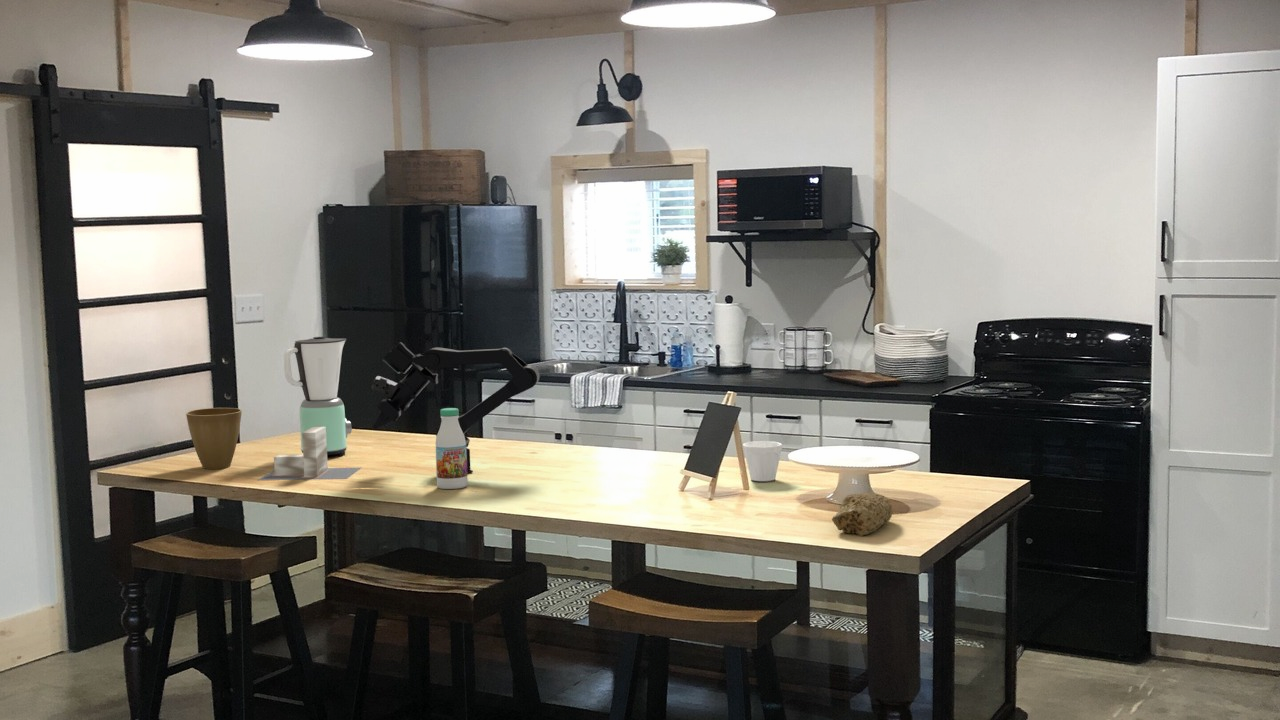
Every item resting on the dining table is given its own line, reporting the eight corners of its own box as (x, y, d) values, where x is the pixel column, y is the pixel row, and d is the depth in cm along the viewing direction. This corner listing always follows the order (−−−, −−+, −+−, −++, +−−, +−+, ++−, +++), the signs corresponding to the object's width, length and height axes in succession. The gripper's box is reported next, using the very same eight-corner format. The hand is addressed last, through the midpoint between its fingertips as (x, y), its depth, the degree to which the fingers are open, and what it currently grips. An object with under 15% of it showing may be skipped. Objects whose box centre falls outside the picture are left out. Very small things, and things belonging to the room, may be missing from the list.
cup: (785, 477, 323) (785, 441, 322) (779, 484, 313) (778, 447, 313) (747, 475, 326) (746, 440, 325) (739, 483, 316) (739, 446, 315)
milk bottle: (431, 487, 321) (428, 409, 319) (456, 482, 326) (453, 405, 324) (447, 491, 315) (444, 411, 313) (473, 486, 320) (470, 408, 318)
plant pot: (180, 472, 351) (177, 415, 349) (202, 462, 366) (199, 407, 364) (232, 471, 350) (229, 414, 348) (252, 461, 365) (249, 407, 363)
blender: (341, 449, 384) (336, 334, 380) (360, 454, 373) (355, 336, 370) (281, 456, 372) (275, 338, 369) (298, 462, 362) (292, 340, 358)
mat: (362, 468, 349) (362, 467, 349) (346, 480, 333) (346, 478, 333) (276, 470, 350) (276, 469, 350) (256, 481, 334) (256, 480, 334)
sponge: (878, 544, 256) (912, 506, 273) (868, 509, 255) (902, 472, 271) (821, 549, 264) (857, 511, 280) (811, 514, 263) (847, 478, 279)
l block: (327, 470, 346) (325, 426, 345) (317, 477, 336) (315, 432, 335) (282, 470, 347) (280, 427, 346) (271, 477, 337) (268, 433, 336)
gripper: (394, 360, 347) (357, 402, 348) (382, 370, 328) (343, 415, 330) (425, 387, 348) (388, 429, 349) (414, 399, 329) (375, 442, 331)
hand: (373, 428), depth 340 cm, fingers closed
